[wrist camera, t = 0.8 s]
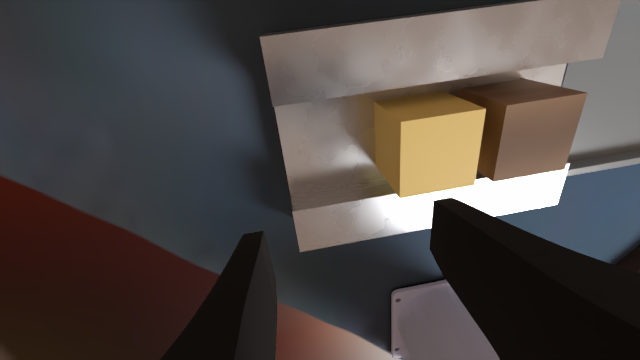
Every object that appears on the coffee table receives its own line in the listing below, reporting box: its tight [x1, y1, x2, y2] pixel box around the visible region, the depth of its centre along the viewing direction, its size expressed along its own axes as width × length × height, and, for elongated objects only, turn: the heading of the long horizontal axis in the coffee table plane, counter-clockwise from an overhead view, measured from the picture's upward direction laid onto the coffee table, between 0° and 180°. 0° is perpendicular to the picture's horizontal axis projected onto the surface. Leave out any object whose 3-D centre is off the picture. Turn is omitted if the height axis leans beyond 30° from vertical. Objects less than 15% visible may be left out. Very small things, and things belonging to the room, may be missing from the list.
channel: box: [260, 0, 621, 252], centre depth 18 cm, size 12×17×4 cm
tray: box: [561, 0, 640, 176], centre depth 20 cm, size 11×12×1 cm
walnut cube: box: [458, 79, 588, 182], centre depth 17 cm, size 4×4×4 cm
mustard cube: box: [374, 91, 486, 198], centre depth 16 cm, size 4×4×4 cm
